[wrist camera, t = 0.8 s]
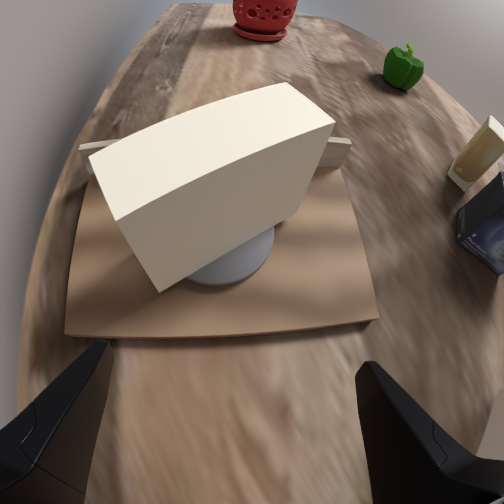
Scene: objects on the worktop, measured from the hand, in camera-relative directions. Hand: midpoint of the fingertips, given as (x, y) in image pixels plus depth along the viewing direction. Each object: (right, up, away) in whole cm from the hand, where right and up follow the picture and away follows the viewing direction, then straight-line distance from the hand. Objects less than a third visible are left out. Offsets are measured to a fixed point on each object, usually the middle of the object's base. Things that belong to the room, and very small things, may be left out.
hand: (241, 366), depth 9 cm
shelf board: (-3, +5, +18) cm, 19 cm away
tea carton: (-3, +5, +17) cm, 18 cm away
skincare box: (+34, +16, +28) cm, 47 cm away
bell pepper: (+30, +39, +38) cm, 62 cm away
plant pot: (+2, +51, +40) cm, 65 cm away
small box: (+33, +5, +23) cm, 40 cm away
